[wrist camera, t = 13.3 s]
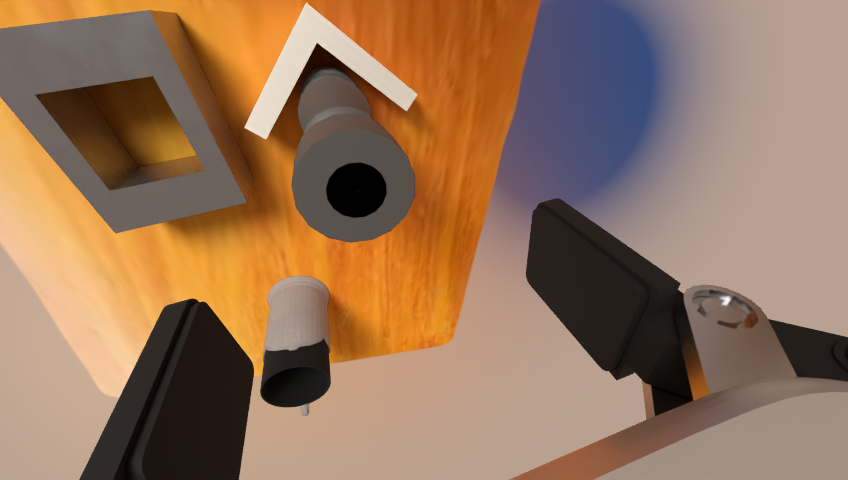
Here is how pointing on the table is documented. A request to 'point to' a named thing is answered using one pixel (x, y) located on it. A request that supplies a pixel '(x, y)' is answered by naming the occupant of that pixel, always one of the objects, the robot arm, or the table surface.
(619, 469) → the robot arm
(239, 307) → the table surface
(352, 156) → the candle holder
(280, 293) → the glass holder
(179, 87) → the gray hollow block
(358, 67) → the angle bracket
